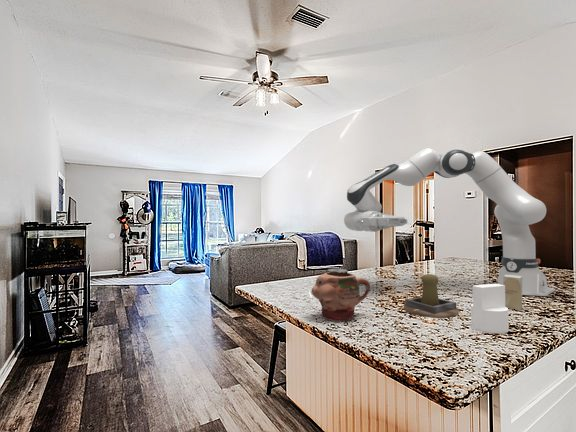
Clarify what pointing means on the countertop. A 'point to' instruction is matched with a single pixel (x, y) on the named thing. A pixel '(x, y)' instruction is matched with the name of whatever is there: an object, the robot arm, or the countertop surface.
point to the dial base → (431, 308)
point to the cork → (430, 290)
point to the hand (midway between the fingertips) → (397, 221)
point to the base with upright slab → (489, 309)
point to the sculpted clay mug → (339, 294)
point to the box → (513, 291)
